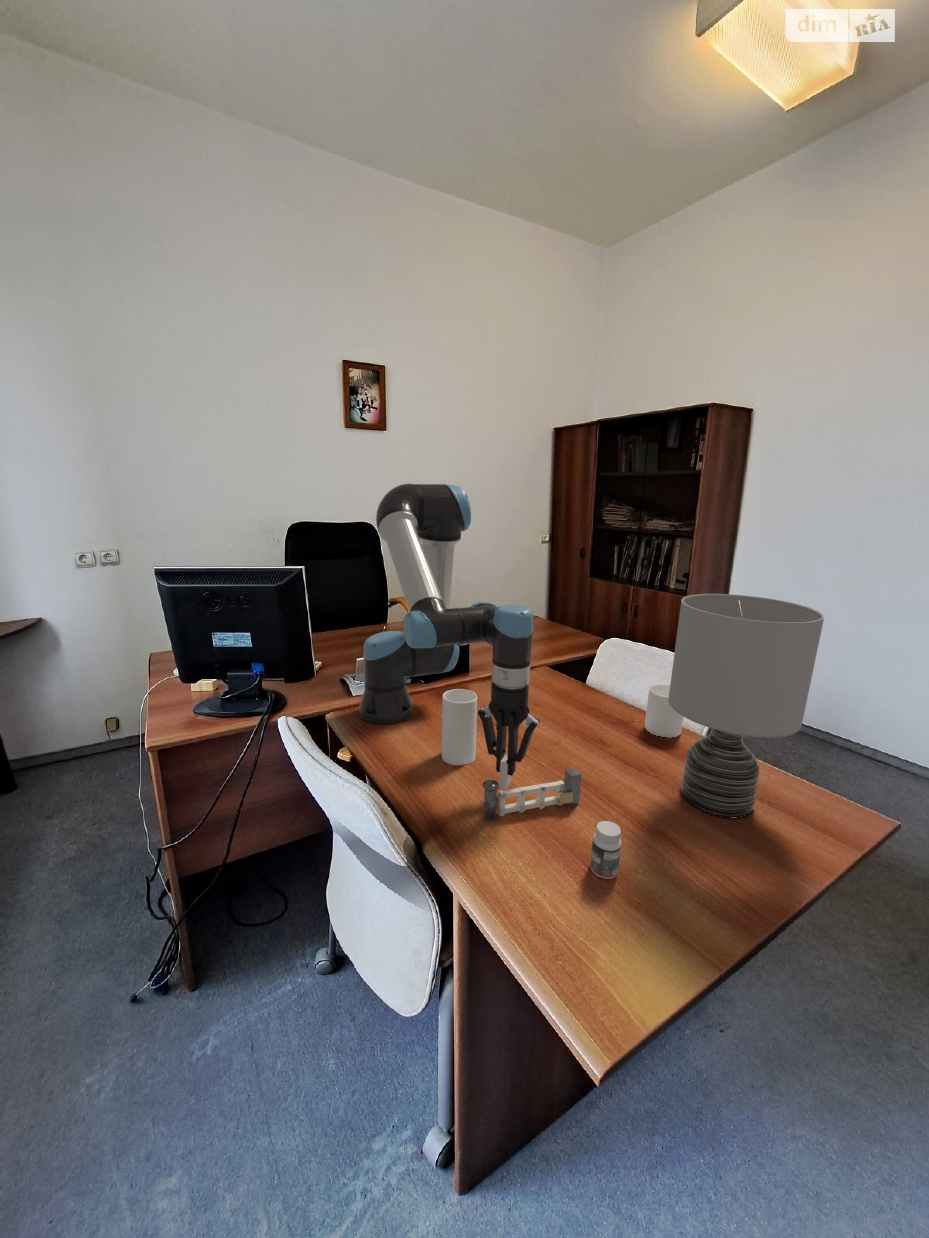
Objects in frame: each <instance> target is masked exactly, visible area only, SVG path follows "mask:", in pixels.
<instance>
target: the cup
mask: <svg viewBox="0 0 929 1238" xmlns="http://www.w3.org/2000/svg"><path fill="white" fill-rule="evenodd" d="M441 700H442V707H441V708H442V709H441V715H442V721H441V724H442V725H441V758H442V760H443V762H445V763H446V764H449V765H452V766H466V765H469V764H471V763H473V762H474V761H475V760H476V756H477V755H476V751H477V745H476V744H477V718H478V717H477V715H478V696H477V693H476V692H474V691H472V690H469V689H463V688H455V689H454V688H453V689H449V690H446V691H445V692H444V693H442V698H441Z"/></svg>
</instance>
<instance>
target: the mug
mask: <svg viewBox="0 0 929 1238" xmlns="http://www.w3.org/2000/svg"><path fill="white" fill-rule="evenodd" d="M669 691H670V685H669V684H653V685H651V686H649V689H648V695H647V704H646V711H645V719H644V728H645V729H646V731H647V733H649V732H650V733H649V734H651V735H653V734H654V735H653V736H655V735H656V736H655V737H658V736H661V737H660V738H662V737H667V738H666V739H673V738H672V737H674V738H677V737H679V736H680V735H681V733H682V729H683V723H684V718H685V717H684V716H682V715H680V714H679V713H678V712H676V711H675V710H674V709H673V708H672V707H671V705H670V704H669V700H668V699H669Z"/></svg>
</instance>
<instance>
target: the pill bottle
mask: <svg viewBox="0 0 929 1238" xmlns="http://www.w3.org/2000/svg"><path fill="white" fill-rule="evenodd" d="M621 829H622V828H621V827H620V826H619V825H618V824H617V823H615V822H612V821H608V820H603V821H600V822H598V823H597V824H596V829H595V833H594V834H593V836H592V844H591V854H590V863H589V865H590V866H589V868H590V870H591V872H592V873H593V874H594V875H595V876H597V877H599V878H602V879H605V880H607V879H614V878H615V877H617V876H618V873H619V867H620V860H621V852H622V851H621V850H622V839H621V837H622V830H621Z"/></svg>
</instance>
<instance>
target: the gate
mask: <svg viewBox="0 0 929 1238" xmlns="http://www.w3.org/2000/svg"><path fill="white" fill-rule="evenodd" d="M564 785H565V783H564V781H563V780H562V779H561V780H557V781H553V782H546V783H545V782H544V783H538V784H534V785H528V786H527V785H526V786H520V787H515V788H511V789H506V790H503V789H500V790H498V800H497V803H498V805H497V814H498V816H499V817H503V816H504V817H505V814H509V813H512V812H519V813H524V812H525V811H526V810H530V809H535V808H538V809H539V810H542V809H545V806H546V807H547V806H552V805H557V806H564V804H560V805H559V803H558V802H557V798H558V791H563V790H564ZM550 791H556V795H555V796H554V795H553V796H547V797H546V792H550ZM532 794H537V799H531V800H526V796H527V795H532ZM515 797H517V802H514V803H510V804H509V803H508V804H506V799H511V798H515Z"/></svg>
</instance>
